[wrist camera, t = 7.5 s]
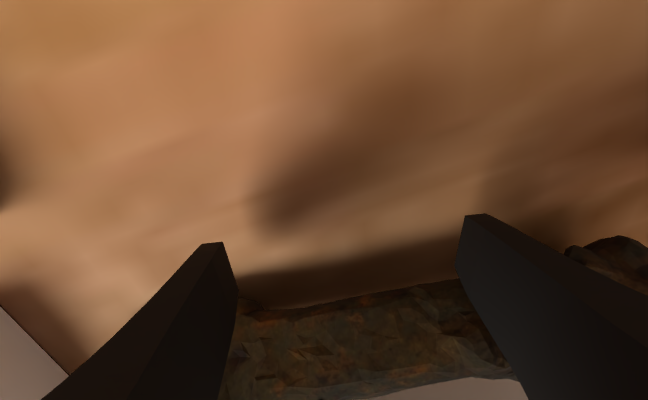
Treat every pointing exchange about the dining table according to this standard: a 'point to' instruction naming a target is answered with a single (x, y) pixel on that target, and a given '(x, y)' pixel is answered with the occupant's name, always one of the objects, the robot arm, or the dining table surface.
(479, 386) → the white u-shaped bracket
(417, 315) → the hand tool
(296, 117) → the dining table surface
